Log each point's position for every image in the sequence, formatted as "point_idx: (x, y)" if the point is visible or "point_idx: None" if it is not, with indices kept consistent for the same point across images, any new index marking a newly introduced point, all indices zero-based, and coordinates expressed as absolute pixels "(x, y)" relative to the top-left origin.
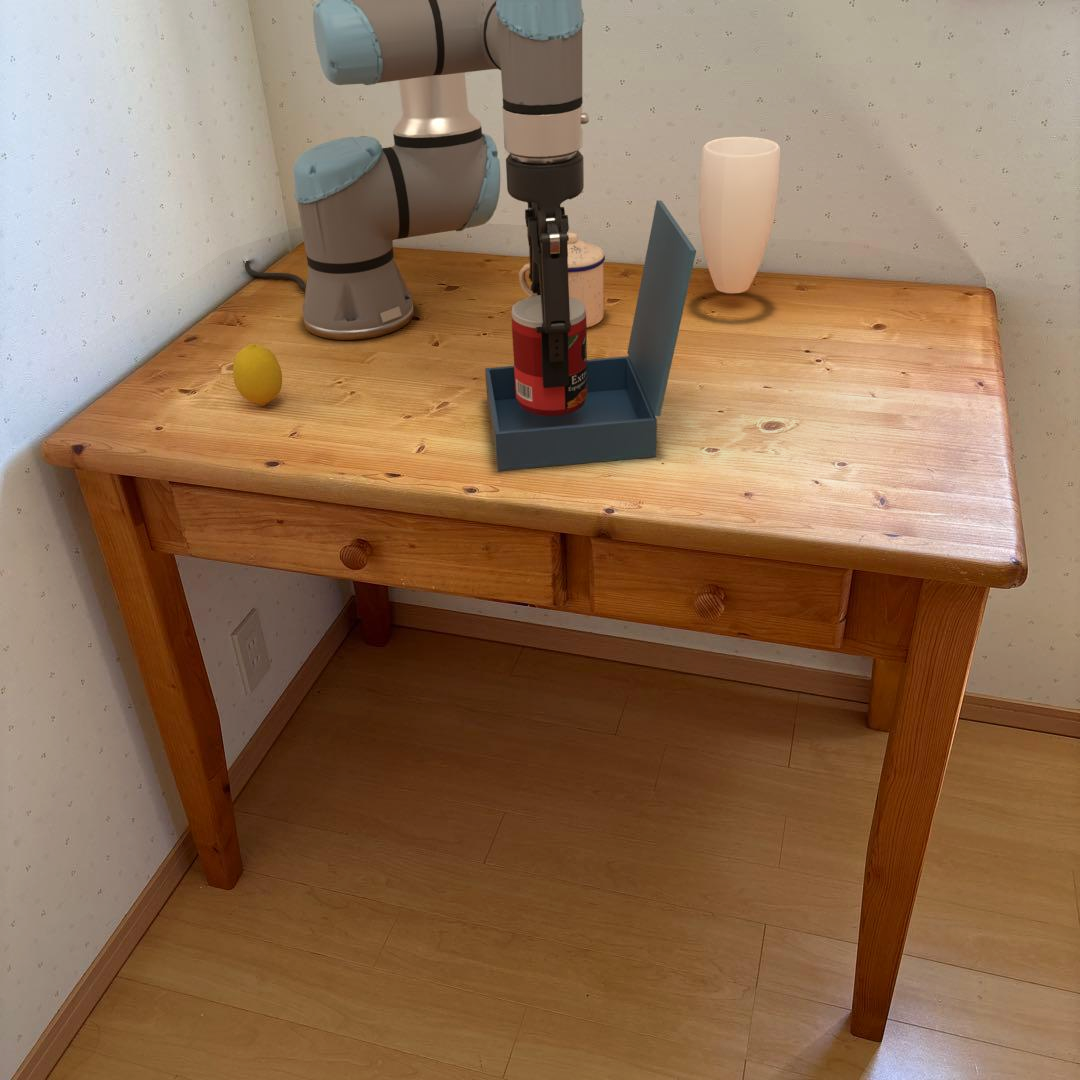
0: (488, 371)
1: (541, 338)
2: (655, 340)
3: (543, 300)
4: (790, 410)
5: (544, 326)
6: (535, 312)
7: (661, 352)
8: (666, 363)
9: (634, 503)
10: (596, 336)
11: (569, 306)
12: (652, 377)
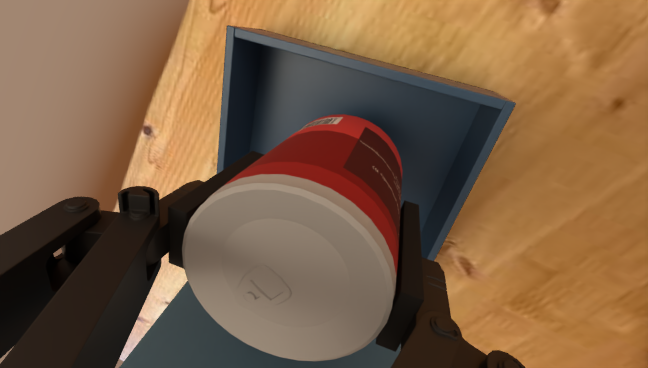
0: (493, 104)
1: (194, 196)
2: (228, 356)
3: (77, 271)
4: None
5: (64, 205)
6: (286, 247)
7: (184, 338)
8: (154, 323)
9: (157, 160)
10: (606, 340)
11: (292, 329)
12: None
